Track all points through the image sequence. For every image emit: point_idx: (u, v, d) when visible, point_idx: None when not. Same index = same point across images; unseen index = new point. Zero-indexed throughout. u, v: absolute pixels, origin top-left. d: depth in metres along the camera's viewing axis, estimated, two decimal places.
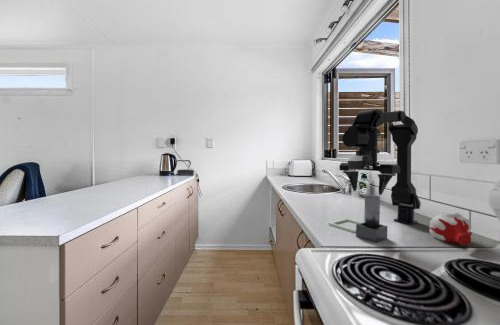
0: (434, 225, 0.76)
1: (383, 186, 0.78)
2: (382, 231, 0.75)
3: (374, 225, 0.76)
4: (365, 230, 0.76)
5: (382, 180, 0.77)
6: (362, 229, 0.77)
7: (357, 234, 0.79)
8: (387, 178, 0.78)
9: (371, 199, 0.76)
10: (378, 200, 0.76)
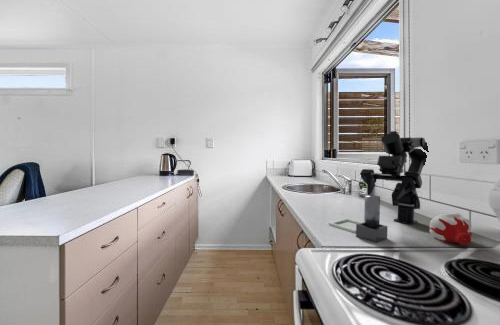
0: (434, 225, 0.76)
1: (402, 191, 0.79)
2: (382, 231, 0.75)
3: (374, 225, 0.76)
4: (365, 230, 0.76)
5: (404, 184, 0.79)
6: (362, 229, 0.77)
7: (357, 234, 0.79)
8: (407, 188, 0.81)
9: (371, 199, 0.76)
10: (378, 200, 0.76)
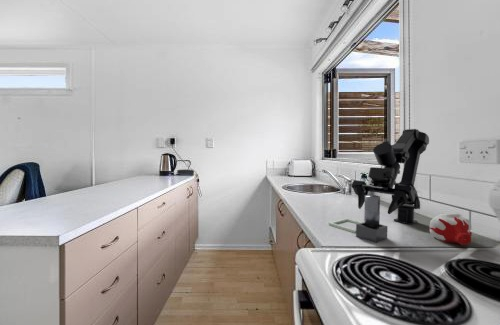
0: (434, 225, 0.76)
1: (394, 206, 0.75)
2: (382, 231, 0.75)
3: (374, 225, 0.76)
4: (365, 230, 0.76)
5: (396, 198, 0.75)
6: (362, 229, 0.77)
7: (357, 234, 0.79)
8: (399, 202, 0.76)
9: (371, 199, 0.76)
10: (378, 200, 0.76)
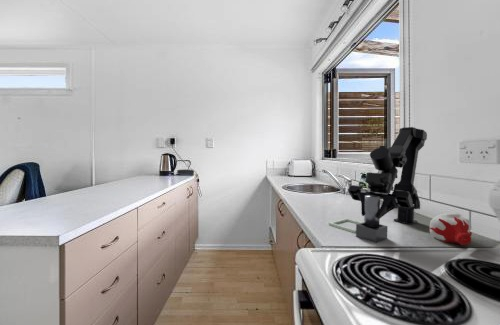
0: (434, 225, 0.76)
1: (384, 211, 0.75)
2: (382, 231, 0.75)
3: (374, 225, 0.76)
4: (365, 230, 0.76)
5: (385, 203, 0.75)
6: (362, 229, 0.77)
7: (357, 234, 0.79)
8: (389, 207, 0.77)
9: (371, 199, 0.76)
10: (378, 200, 0.76)
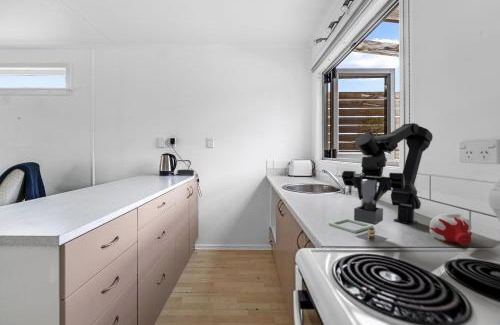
0: (434, 225, 0.76)
1: (380, 193, 0.77)
2: (380, 213, 0.77)
3: (372, 208, 0.77)
4: (364, 213, 0.77)
5: (382, 186, 0.77)
6: (361, 212, 0.78)
7: (355, 218, 0.79)
8: (384, 189, 0.79)
9: (369, 183, 0.77)
10: (376, 183, 0.77)
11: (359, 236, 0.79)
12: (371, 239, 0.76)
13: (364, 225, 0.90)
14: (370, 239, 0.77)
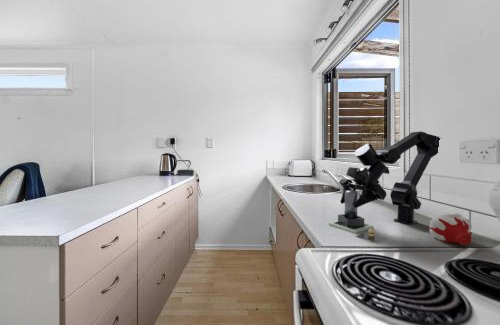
0: (434, 225, 0.76)
1: (361, 201, 0.85)
2: (357, 222, 0.87)
3: (349, 216, 0.88)
4: (342, 219, 0.89)
5: (363, 194, 0.85)
6: (340, 218, 0.90)
7: (338, 223, 0.92)
8: (368, 198, 0.86)
9: (347, 193, 0.88)
10: (353, 195, 0.87)
11: (359, 236, 0.79)
12: (371, 239, 0.76)
13: (364, 225, 0.90)
14: (370, 239, 0.77)
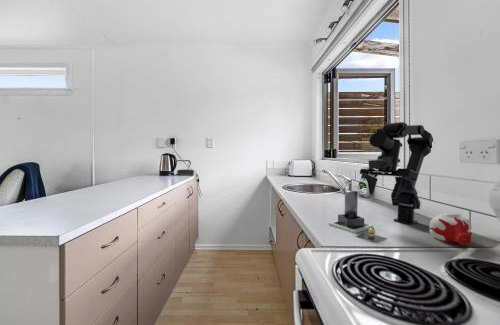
0: (434, 225, 0.76)
1: (399, 190, 0.83)
2: (357, 222, 0.87)
3: (349, 216, 0.88)
4: (342, 219, 0.89)
5: (398, 183, 0.82)
6: (340, 218, 0.90)
7: (338, 223, 0.92)
8: (404, 183, 0.83)
9: (347, 193, 0.88)
10: (353, 195, 0.87)
11: (359, 236, 0.79)
12: (371, 239, 0.76)
13: (364, 225, 0.90)
14: (370, 239, 0.77)
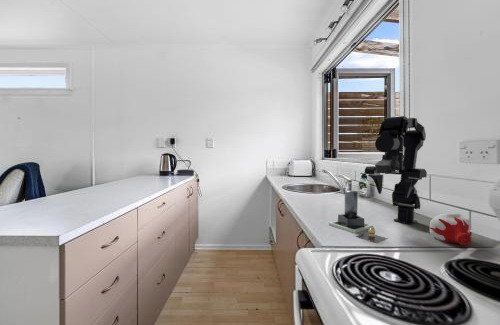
0: (434, 225, 0.76)
1: (410, 189, 0.82)
2: (357, 222, 0.87)
3: (349, 216, 0.88)
4: (342, 219, 0.89)
5: (409, 184, 0.81)
6: (340, 218, 0.90)
7: (338, 223, 0.92)
8: (413, 182, 0.82)
9: (347, 193, 0.88)
10: (353, 195, 0.87)
11: (359, 236, 0.79)
12: (371, 239, 0.76)
13: (364, 225, 0.90)
14: (370, 239, 0.77)
